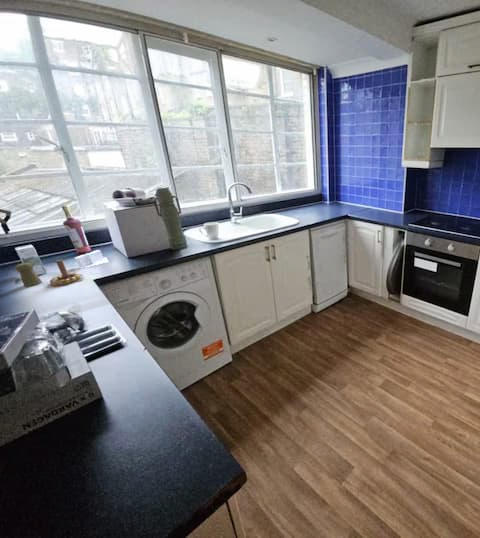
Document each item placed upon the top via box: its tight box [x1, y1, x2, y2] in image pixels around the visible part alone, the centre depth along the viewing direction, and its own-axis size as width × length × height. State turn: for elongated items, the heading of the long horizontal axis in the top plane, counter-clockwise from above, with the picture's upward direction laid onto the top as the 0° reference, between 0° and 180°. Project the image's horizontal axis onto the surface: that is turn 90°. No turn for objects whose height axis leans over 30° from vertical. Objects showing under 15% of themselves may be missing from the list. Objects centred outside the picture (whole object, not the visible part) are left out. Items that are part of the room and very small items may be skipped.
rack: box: [54, 259, 83, 288], centre depth 133 cm, size 9×9×11 cm
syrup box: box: [14, 244, 47, 277], centre depth 143 cm, size 6×6×14 cm
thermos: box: [152, 187, 188, 251], centre depth 172 cm, size 9×12×35 cm
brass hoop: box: [49, 272, 81, 286], centre depth 134 cm, size 10×10×2 cm
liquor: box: [61, 204, 92, 255], centre depth 169 cm, size 7×7×28 cm
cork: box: [14, 262, 43, 288], centre depth 131 cm, size 6×6×11 cm
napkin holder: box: [74, 249, 110, 268], centre depth 156 cm, size 15×11×6 cm
